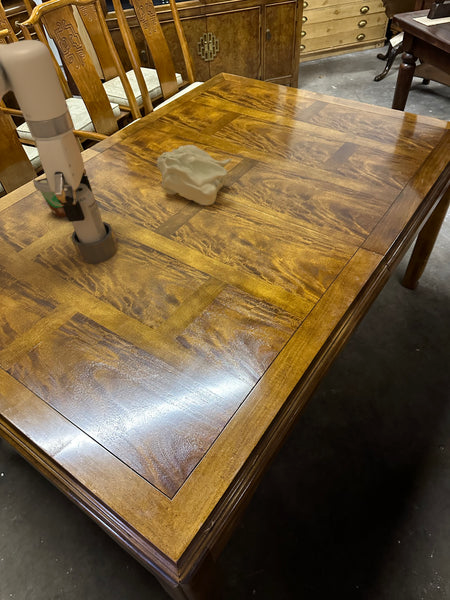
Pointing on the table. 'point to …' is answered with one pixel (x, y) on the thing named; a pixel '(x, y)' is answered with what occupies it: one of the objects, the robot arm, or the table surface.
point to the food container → (50, 196)
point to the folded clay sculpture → (192, 174)
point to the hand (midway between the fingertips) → (81, 206)
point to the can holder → (97, 247)
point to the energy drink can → (88, 217)
